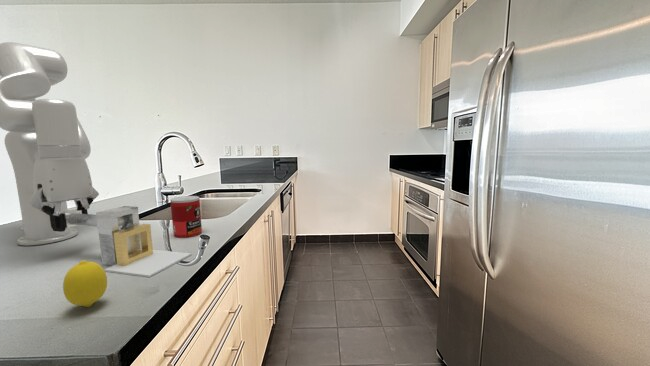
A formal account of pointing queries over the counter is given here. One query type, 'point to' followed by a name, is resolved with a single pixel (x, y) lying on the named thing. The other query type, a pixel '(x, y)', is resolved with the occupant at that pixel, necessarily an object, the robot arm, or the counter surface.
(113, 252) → the bearing block
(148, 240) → the frame
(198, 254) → the counter surface
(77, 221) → the shaft
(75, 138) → the robot arm
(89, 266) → the lemon
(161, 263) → the mat
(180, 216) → the canned food
